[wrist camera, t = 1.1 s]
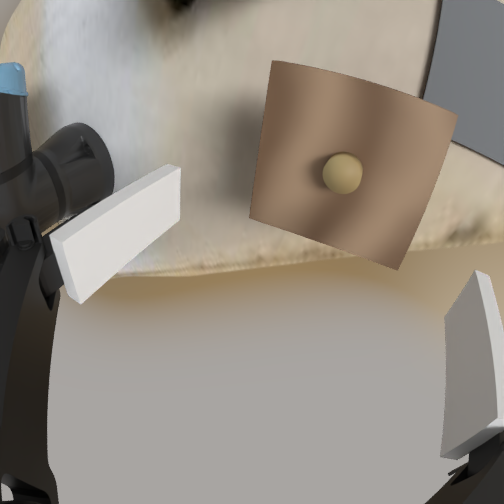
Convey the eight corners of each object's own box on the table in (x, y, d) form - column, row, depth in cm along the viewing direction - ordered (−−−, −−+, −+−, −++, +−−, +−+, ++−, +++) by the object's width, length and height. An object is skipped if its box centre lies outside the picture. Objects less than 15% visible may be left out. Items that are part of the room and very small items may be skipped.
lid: (255, 210, 26) (241, 226, 23) (279, 60, 18) (264, 60, 16) (398, 260, 23) (396, 281, 21) (453, 112, 15) (463, 118, 13)
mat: (415, 124, 25) (416, 125, 25) (444, -21, 15) (445, -23, 15) (529, 179, 22) (531, 181, 21) (564, 45, 12) (566, 45, 11)
